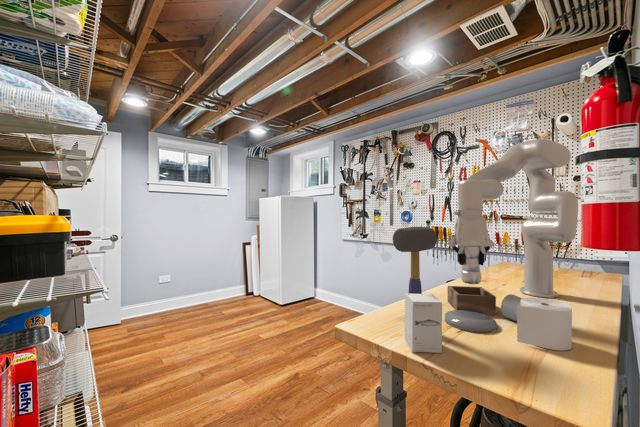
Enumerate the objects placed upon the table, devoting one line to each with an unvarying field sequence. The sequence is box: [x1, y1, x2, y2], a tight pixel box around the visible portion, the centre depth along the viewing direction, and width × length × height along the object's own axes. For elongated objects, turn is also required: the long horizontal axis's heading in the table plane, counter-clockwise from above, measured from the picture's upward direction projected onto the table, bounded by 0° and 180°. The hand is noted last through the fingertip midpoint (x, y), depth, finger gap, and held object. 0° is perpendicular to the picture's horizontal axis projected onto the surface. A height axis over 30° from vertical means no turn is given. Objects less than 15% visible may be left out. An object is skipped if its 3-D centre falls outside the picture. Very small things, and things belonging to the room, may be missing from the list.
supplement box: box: [404, 293, 443, 354], centre depth 71 cm, size 7×7×13 cm
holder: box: [447, 285, 497, 315], centre depth 99 cm, size 12×12×6 cm
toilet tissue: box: [516, 297, 573, 351], centre depth 73 cm, size 11×12×10 cm
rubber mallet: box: [392, 226, 438, 294], centre depth 83 cm, size 12×8×30 cm, turn 119°
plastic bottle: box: [460, 240, 482, 285], centre depth 99 cm, size 6×7×20 cm
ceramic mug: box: [500, 293, 523, 322], centre depth 87 cm, size 11×8×8 cm
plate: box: [444, 309, 498, 334], centre depth 85 cm, size 14×14×2 cm
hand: (470, 264), depth 99 cm, fingers closed on plastic bottle, 5 cm apart
